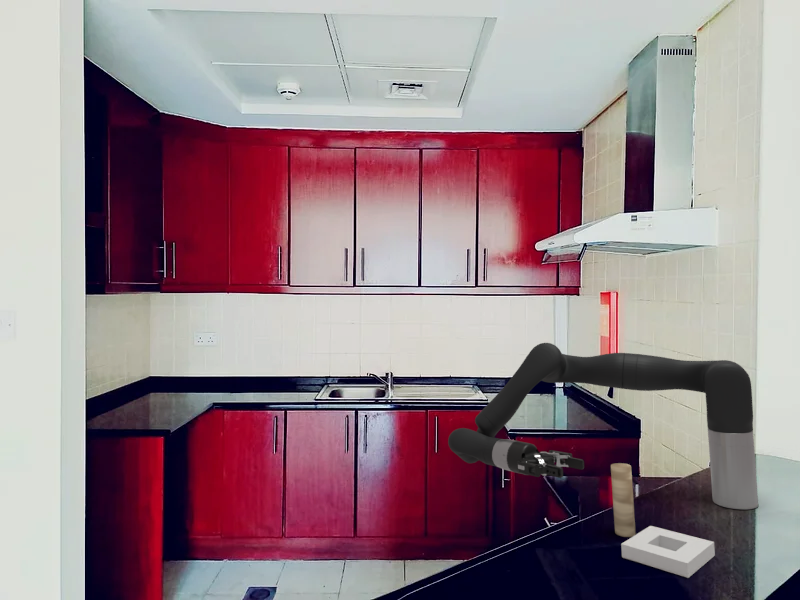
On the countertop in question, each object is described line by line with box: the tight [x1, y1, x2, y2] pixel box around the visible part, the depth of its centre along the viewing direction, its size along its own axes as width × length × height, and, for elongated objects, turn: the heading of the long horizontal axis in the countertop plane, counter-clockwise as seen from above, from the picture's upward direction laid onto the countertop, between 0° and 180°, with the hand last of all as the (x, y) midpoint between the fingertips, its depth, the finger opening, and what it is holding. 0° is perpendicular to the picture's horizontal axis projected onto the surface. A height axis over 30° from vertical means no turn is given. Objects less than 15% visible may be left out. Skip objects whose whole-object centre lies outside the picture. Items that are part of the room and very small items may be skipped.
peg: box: [610, 462, 637, 538], centre depth 115 cm, size 4×4×14 cm
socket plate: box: [620, 525, 716, 579], centre depth 104 cm, size 12×12×2 cm
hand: (573, 468), depth 124 cm, fingers open, 8 cm apart
